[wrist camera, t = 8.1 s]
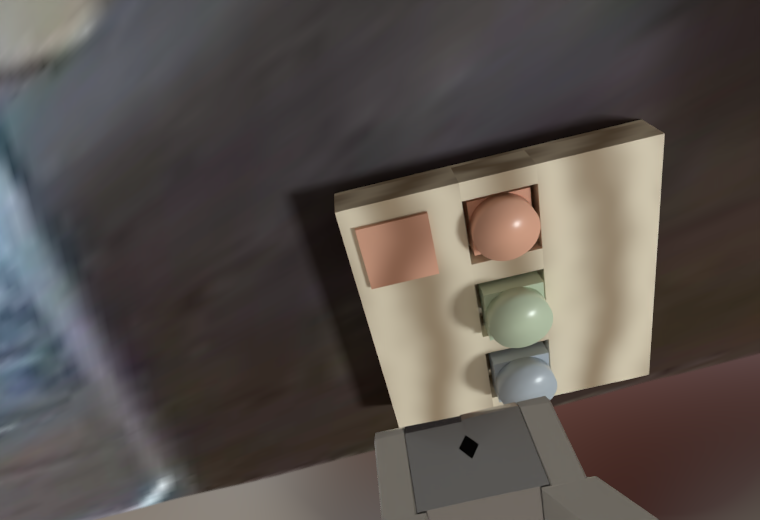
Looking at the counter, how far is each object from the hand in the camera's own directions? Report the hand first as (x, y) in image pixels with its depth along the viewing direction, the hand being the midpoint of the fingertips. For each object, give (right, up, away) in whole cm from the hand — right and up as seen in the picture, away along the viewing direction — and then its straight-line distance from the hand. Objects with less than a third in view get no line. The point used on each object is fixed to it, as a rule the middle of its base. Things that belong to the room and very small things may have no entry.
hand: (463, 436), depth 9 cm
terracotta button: (+7, +7, +30) cm, 32 cm away
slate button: (+10, -6, +36) cm, 38 cm away
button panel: (+8, +1, +34) cm, 35 cm away
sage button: (+9, 0, +33) cm, 34 cm away
